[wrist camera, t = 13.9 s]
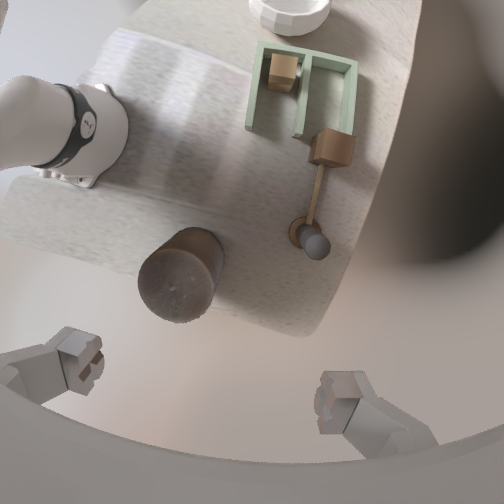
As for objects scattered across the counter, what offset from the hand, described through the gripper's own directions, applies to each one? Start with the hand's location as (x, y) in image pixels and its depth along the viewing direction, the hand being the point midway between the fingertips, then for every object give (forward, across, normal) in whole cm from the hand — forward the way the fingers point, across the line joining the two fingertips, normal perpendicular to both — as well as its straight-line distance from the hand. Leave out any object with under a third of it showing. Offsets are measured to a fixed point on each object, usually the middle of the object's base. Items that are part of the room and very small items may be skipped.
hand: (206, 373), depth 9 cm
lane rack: (+37, -6, -21) cm, 43 cm away
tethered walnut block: (+37, -10, -6) cm, 39 cm away
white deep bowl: (+37, -2, -36) cm, 52 cm away
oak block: (+37, -2, -23) cm, 44 cm away
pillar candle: (+37, +7, +7) cm, 39 cm away
